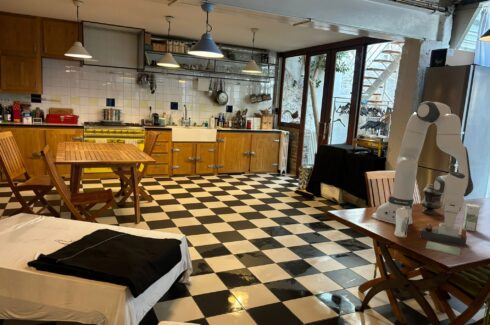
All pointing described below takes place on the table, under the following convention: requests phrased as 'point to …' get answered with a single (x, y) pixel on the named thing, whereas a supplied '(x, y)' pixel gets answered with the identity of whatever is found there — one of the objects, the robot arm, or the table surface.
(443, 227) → the lever cap
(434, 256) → the table surface
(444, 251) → the rubber mat
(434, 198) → the apothecary jar
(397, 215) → the beer glass
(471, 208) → the syrup box
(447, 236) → the plane body
